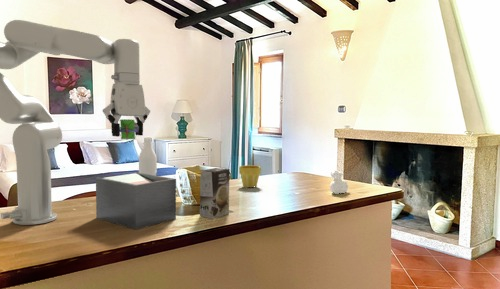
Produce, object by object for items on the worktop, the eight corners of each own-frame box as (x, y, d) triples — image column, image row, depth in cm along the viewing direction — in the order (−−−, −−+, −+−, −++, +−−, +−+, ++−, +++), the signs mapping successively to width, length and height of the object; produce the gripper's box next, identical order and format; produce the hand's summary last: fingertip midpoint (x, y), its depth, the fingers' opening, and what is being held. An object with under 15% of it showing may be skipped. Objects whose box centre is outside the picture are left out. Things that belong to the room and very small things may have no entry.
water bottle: (160, 198, 160) (160, 137, 158) (150, 202, 153) (150, 138, 151) (145, 197, 162) (145, 137, 160) (135, 200, 156) (134, 138, 154)
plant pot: (236, 188, 186) (236, 167, 185) (241, 184, 196) (242, 164, 195) (257, 189, 183) (258, 168, 183) (262, 185, 194) (262, 165, 193)
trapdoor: (128, 195, 122) (128, 191, 122) (102, 180, 130) (103, 177, 130) (160, 188, 132) (161, 185, 132) (135, 175, 140) (135, 173, 140)
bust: (344, 195, 183) (332, 175, 187) (356, 188, 178) (343, 166, 183) (330, 199, 175) (317, 177, 179) (342, 191, 170) (329, 169, 174)
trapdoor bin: (135, 229, 118) (135, 185, 117) (96, 217, 130) (95, 177, 129) (175, 218, 131) (175, 178, 130) (136, 208, 143) (136, 172, 142)
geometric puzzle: (137, 133, 120) (138, 112, 124) (113, 133, 118) (116, 112, 123) (139, 146, 126) (140, 125, 130) (116, 146, 124) (118, 125, 129)
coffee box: (214, 219, 131) (214, 171, 130) (199, 216, 134) (199, 170, 133) (229, 213, 139) (230, 168, 137) (215, 211, 142) (215, 167, 141)
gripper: (108, 77, 114) (109, 137, 115) (157, 81, 127) (157, 135, 129) (94, 78, 118) (96, 136, 120) (143, 82, 132) (143, 134, 133)
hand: (127, 135), depth 124 cm, fingers closed on geometric puzzle, 7 cm apart
